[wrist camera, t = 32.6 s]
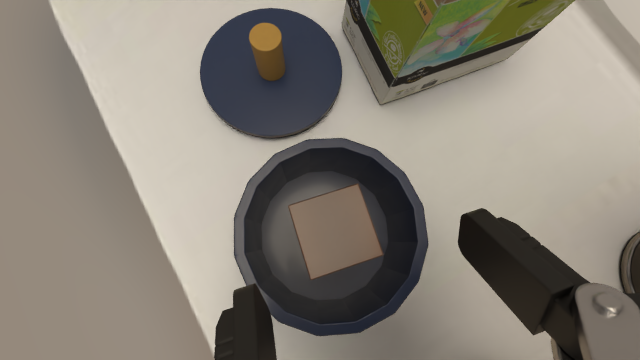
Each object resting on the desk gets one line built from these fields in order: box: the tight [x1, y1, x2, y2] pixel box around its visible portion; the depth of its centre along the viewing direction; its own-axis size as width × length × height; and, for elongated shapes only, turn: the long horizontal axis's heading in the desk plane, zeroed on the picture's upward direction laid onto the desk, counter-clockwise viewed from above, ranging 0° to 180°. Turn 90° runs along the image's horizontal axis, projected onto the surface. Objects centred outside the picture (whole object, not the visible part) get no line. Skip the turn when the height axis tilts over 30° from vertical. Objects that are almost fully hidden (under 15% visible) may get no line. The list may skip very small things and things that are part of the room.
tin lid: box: [200, 8, 342, 138], centre depth 26 cm, size 13×13×6 cm
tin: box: [234, 138, 428, 336], centre depth 22 cm, size 12×12×8 cm
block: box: [288, 183, 384, 280], centre depth 21 cm, size 4×4×9 cm
